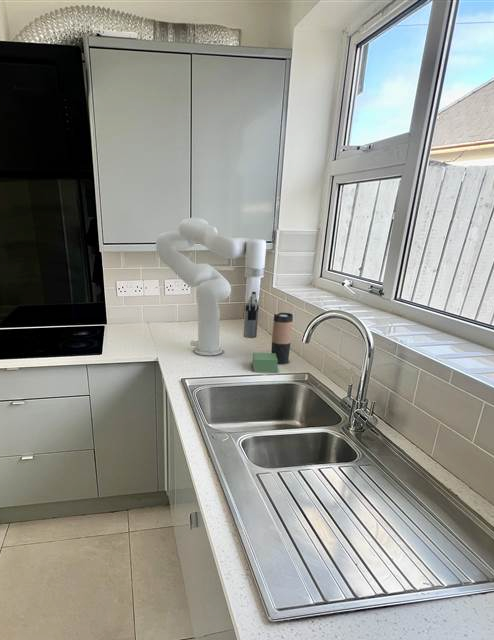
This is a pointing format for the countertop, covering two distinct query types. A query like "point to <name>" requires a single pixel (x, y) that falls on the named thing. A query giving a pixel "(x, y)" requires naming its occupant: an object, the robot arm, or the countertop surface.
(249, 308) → the robot arm
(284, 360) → the travel mug
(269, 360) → the green block
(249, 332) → the steel flask
